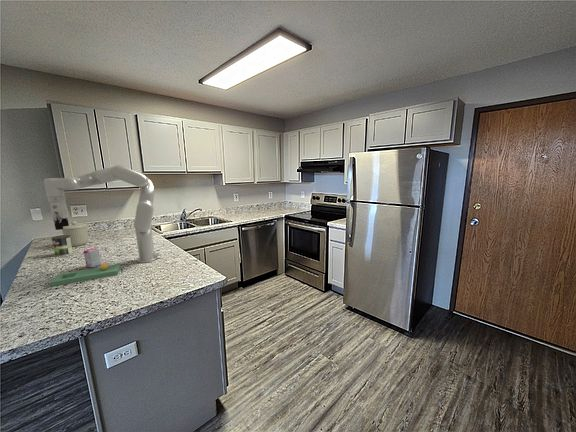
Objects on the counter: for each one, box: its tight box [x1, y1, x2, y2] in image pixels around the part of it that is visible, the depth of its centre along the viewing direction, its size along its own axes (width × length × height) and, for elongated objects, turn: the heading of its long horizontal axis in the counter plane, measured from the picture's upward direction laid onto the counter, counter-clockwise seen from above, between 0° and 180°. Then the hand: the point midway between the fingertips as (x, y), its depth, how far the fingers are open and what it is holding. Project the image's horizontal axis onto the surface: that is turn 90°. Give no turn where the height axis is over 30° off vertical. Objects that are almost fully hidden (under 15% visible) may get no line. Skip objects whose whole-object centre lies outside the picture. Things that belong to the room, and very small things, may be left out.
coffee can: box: [50, 235, 74, 258], centre depth 180 cm, size 10×10×14 cm
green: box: [49, 263, 121, 287], centre depth 141 cm, size 30×12×2 cm, turn 119°
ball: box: [99, 262, 109, 270], centre depth 144 cm, size 4×4×4 cm
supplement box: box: [83, 248, 102, 269], centre depth 156 cm, size 6×6×12 cm
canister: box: [61, 220, 89, 247], centre depth 205 cm, size 18×18×21 cm
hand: (62, 227), depth 141 cm, fingers open, 9 cm apart
